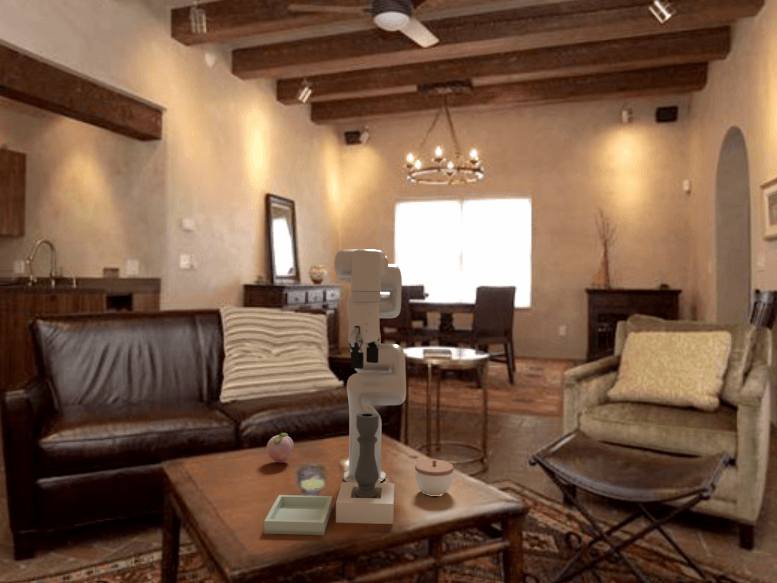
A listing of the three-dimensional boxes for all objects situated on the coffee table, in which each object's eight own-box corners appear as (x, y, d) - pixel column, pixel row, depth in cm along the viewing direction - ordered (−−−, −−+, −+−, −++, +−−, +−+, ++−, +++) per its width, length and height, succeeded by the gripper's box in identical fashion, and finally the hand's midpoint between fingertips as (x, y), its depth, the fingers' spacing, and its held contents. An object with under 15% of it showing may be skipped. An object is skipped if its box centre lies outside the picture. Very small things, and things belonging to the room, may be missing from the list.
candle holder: (349, 511, 151) (350, 414, 150) (367, 504, 156) (368, 410, 155) (365, 518, 147) (366, 419, 146) (383, 511, 151) (384, 415, 150)
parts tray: (278, 506, 154) (278, 494, 154) (332, 507, 153) (332, 496, 153) (264, 533, 138) (264, 520, 138) (323, 535, 137) (324, 522, 137)
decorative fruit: (270, 458, 193) (270, 428, 192) (295, 458, 193) (295, 428, 192) (263, 467, 183) (263, 436, 183) (289, 468, 183) (289, 436, 183)
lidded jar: (442, 484, 172) (443, 452, 171) (459, 497, 162) (460, 463, 161) (408, 488, 168) (409, 455, 167) (424, 502, 158) (424, 467, 157)
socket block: (341, 500, 158) (342, 481, 158) (394, 501, 158) (394, 483, 158) (335, 522, 144) (336, 502, 144) (393, 524, 144) (393, 503, 144)
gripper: (365, 296, 159) (364, 359, 160) (337, 299, 143) (336, 369, 143) (391, 297, 156) (390, 361, 157) (365, 300, 140) (364, 371, 141)
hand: (364, 365), depth 150 cm, fingers open, 9 cm apart
